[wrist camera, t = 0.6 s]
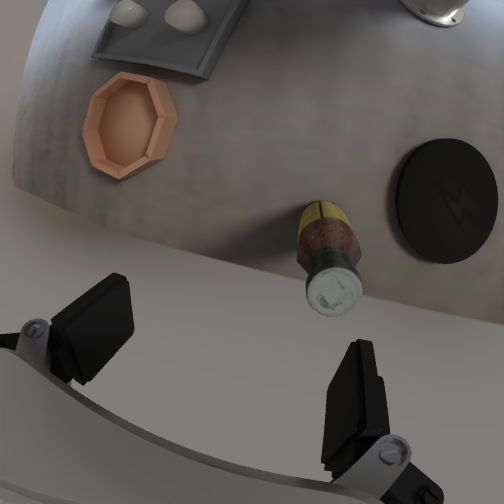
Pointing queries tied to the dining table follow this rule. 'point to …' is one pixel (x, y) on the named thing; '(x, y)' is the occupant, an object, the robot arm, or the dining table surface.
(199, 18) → the pebble
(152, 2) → the parts tray
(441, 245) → the wireless charger
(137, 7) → the pebble
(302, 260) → the sauce bottle
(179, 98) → the dining table surface
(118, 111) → the bowl
